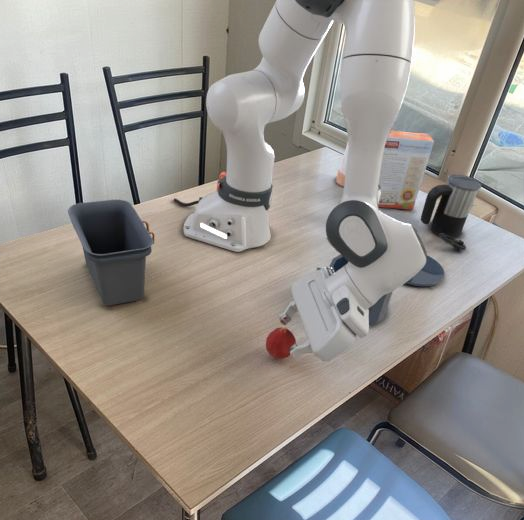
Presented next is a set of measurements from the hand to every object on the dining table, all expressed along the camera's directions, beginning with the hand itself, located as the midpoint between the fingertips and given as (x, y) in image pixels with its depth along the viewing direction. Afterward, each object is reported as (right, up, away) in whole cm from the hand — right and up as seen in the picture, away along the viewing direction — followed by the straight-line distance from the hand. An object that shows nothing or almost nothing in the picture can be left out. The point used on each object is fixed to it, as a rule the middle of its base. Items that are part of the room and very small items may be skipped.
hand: (286, 337), depth 102 cm
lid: (+33, +18, +33) cm, 50 cm away
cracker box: (+33, +41, +60) cm, 80 cm away
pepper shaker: (+22, +50, +68) cm, 87 cm away
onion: (-1, -4, +4) cm, 6 cm away
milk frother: (+48, +29, +48) cm, 74 cm away
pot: (+16, +7, +19) cm, 26 cm away
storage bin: (-36, +12, +16) cm, 42 cm away
